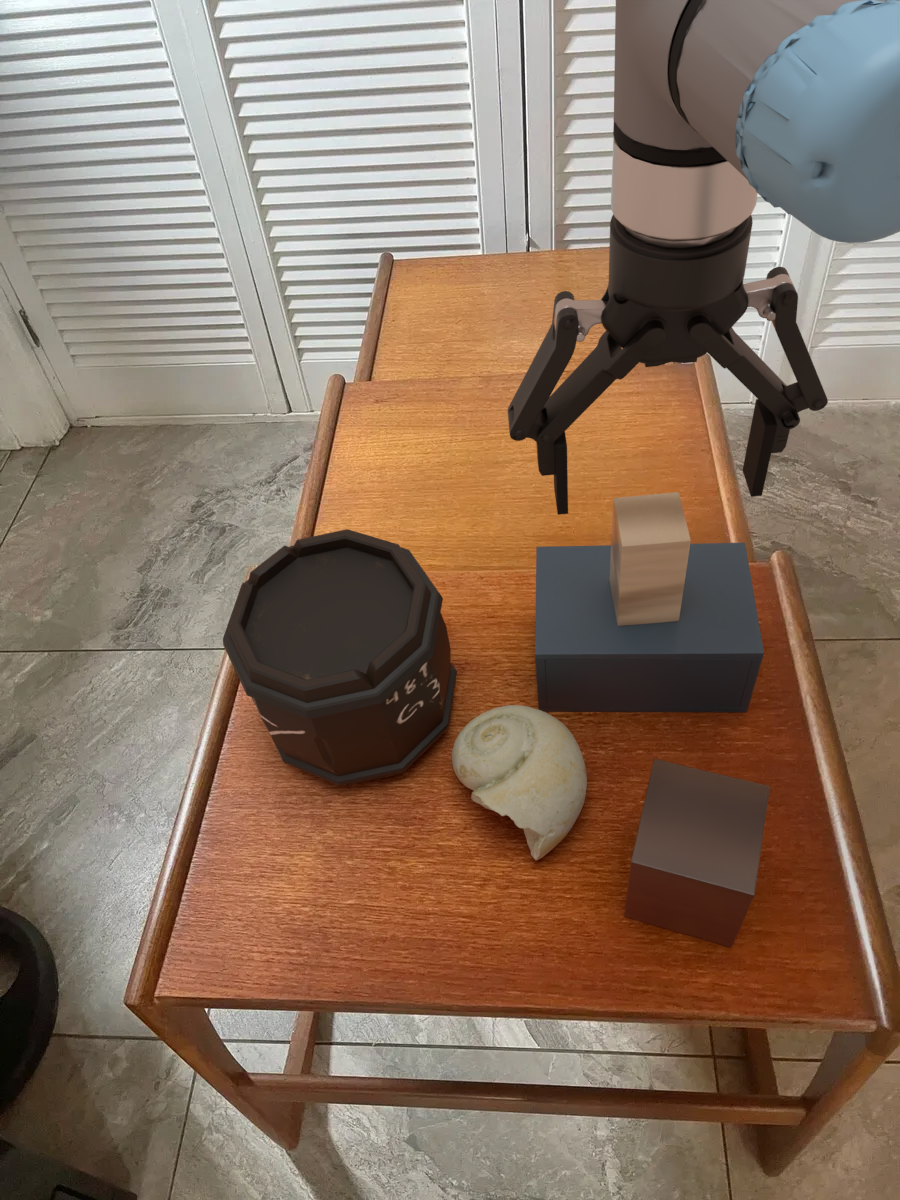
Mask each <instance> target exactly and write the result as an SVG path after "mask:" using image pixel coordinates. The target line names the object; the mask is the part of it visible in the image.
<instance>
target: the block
mask: <svg viewBox="0 0 900 1200" xmlns="http://www.w3.org/2000/svg"><path fill="white" fill-rule="evenodd" d="M684 511H685V510H684V507H683V502H682V498H681V495H680V492H678V491H674V492H664V493H653V494H642V495H631V496H620V497H613V498H612V518H611V536H610V537H611V539H610V540H611V541H610V545H611V560H610V585H611V591H612V597H613V603H614V609H615V615H616V621H617V626H625V625H637V624H650V623H662V622H674V621H679V616H680V610H681V603H682V596H683V590H684V583H685V576H686V569H687V563H688V556H689V549H690V544H692V542H691V541H692V540H691V539H692V538H691V535H690V532H689V527H688V522H687V519H686V515H685V512H684Z"/></svg>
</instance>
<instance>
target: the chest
mask: <svg viewBox="0 0 900 1200" xmlns="http://www.w3.org/2000/svg"><path fill="white" fill-rule="evenodd" d="M534 661H535V679H536V691H537V705H538V707H537V709H538V710H541V711H544V712H546V713H547V712H548V713H549V712H554V713H555V712H556V713H557V712H559V713H561V712H563V713H564V712H565V713H567V712H569V713H570V712H571V713H572V712H575V713H576V712H578V713H579V712H581V713H583V712H585V713H586V712H588V713H591V712H592V713H595V712H596V713H747V712H748V710H749V707H750V703H751V700H752V696H753V692H754V689H755V687H756V683H757V679H758V675H759V672H760V668H761V666H762V662H763V658H762V659H558V660H536V659H535V658H534Z"/></svg>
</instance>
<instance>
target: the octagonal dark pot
mask: <svg viewBox="0 0 900 1200" xmlns="http://www.w3.org/2000/svg"><path fill="white" fill-rule="evenodd" d="M238 590H239V591H238V594H237V595H236V600H235V602H234V605H233V608H232V611H231V614H230V616H229V620H228V623H227V626H226V628H225V631H224V633H223V637H222V645H223V647H224V650H225V652H226V654H227V656H228V658H229V660H230V662H231V665H232V667H233V669H234V672H235V673H236V676H237V677H238V680H239V682H240V684H241V686H242V688H243V690H244V692H245V695H246V696H248V697H250V698H251V699H252V701H253V704H254V705H255V708H256V710H257V712H258V714H259V717H260V719H261V720H262V722H263V724H264V726H265V727H266V729H267V731H268V733H269V735H270V737H271V740H272V741H273V743H274V746H275V747H276V749H277V752H278V754H279V756H280V758H281V760H282V762H283V763H285V764H286V765H288V766H291V767H293V768H296V769H298V770H301V771H303V772H306V773H308V774H310V775H313V776H315V777H318V778H319V779H322V780H325V781H328V782H330V783H332V784H335V785H337V786H340V787H343V786H350V785H356V784H359V783H365V782H368V781H369V782H370V781H373V780H374V781H375V780H378V779H383V778H388V777H392V776H397V775H401V774H403V773H405V772H406V771H407V770H408V769H409V768H410V767H411V766H412V765H413V764H414V763H415V762H417V761H418V759H420V757H421V756H422V755H423V754H424V753H426V751H427V750H428V749H429V748H430V747H431V746H433V744H435V742H437V740H439V738H440V737H441V736H443V734H444V733H446V732H447V731H448V729H449V726H450V719H451V714H452V706H453V701H454V694H455V688H456V680H457V673H458V670H457V669H456V667H455V666H454V665H453V663H452V656H451V655H452V654H451V653H452V652H451V650H452V649H451V645H450V639H449V634H448V633H449V632H448V629H447V624H446V622H445V620H444V617H443V614H442V612H441V611H442V606H443V601H444V597H443V596H442V595H441V593H440V591H439V590H438V588H437V587H436V586H435V584H434V583H433V581H432V580H431V579H430V578H429V576H428V574H427V573H426V572H425V570H424V569H423V568H422V566H421V565H420V563H419V562H418V560H417V559H416V558H415V556H414V555H413V553H412V552H411V550H410V549H407V548H404V547H401V546H400V544H399V543H395V542H391V541H389V540H385V539H382V538H378V537H375V536H372V535H369V534H365V533H362V532H359V531H355V530H352V529H348V528H346V529H341V530H336V531H331V532H328V533H323V534H319V535H313V536H308V537H305V538H303V537H302V538H299V539H296V541H295V543H294V544H293V545H290V546H288V545H285V544H284V545H283V546H282V547H280V548H279V549H278V550H277V551H275V552H274V553H273V554H271V555H270V556H269V557H268V558H266V559H265V560H264V561H262V562H261V563H260V564H258V566H256V567H255V568H254V569H253V570H251V571H250V572H249V575H248V579H247V580H246V581H244V582H242V583H241V585H240V588H239V589H238Z"/></svg>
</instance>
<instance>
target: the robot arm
mask: <svg viewBox="0 0 900 1200" xmlns="http://www.w3.org/2000/svg"><path fill="white" fill-rule="evenodd" d="M614 11H615V12H614V13H615V15H614V16H615V17H614V21H615V23H614V75H613V76H614V78H613V79H614V81H613V82H614V83H613V85H614V86H613V118H612V119H613V129H612V130H613V132H612V135H613V136H612V137H613V139H612V161H611V163H612V165H611V192H610V207H611V208H610V210H611V212H612V216H611V219H610V222H609V246H608V247H609V250H608V251H609V252H608V284H607V288H606V289H605V292H604V294H603V296H602V297H601V299H585V300H584V299H582V300H579V299H578V300H577V299H575V296H574V294H573V292H571V291H569V290H568V291H567V290H562V291H560V292H559V293H557V294H556V295H555V297H554V299H553V300H554V301H553V308H552V309H553V311H552V319H551V325H550V327H549V328H548V331H547V333H546V334H545V336H544V338H543V341H542V342H541V344H540V346H539V348H538V349H537V352H536V353H535V356H534V357H533V360H532V361H531V363H530V365H529V367H528V369H527V371H526V372H525V375H524V377H523V379H522V380H521V382H520V384H519V386H518V388H517V390H516V392H515V394H514V395H513V397H512V400H511V401H510V403H509V405H508V407H507V420H508V430H509V431H508V432H509V437H510V439H512V441H516V442H521V441H524V440H525V439H526V438H527V439H531V440H533V441H535V444H536V459H537V467H538V472H539V474H540V475H541V476H542V477H546V476H553V489H554V490H553V491H554V497H555V506H556V514H557V516H560V515H561V516H562V515H568V514H569V484H568V483H569V481H568V476H569V475H568V443H567V437H566V431H567V430H568V429H570V427H571V426H572V425H573V424H574V423H575V422H576V421H577V419H579V418H580V417H581V416H582V414H583V413H585V411H587V410H588V408H590V406H592V405H593V403H594V402H595V401H596V400H597V399H599V397H601V395H603V393H605V392H606V390H607V389H608V388H610V386H611V385H612V384H613V383H614V382H615V381H616V380H623V379H625V377H627V375H628V374H629V373H630V372H631V371H632V370H633V369H634V368H635V367H636V366H637V365H638V364H644V367H645V368H652V367H660V366H663V365H665V364H668V363H678V364H679V363H680V364H691V363H697V362H698V358H701V357H703V356H705V355H706V354H708V355H709V356H710V357H711V358H712V359H714V361H715V362H716V363H717V364H718V365H719V366H720V367H721V368H723V369H727V370H728V371H729V372H730V373H731V374H732V375H733V376H734V377H735V378H736V379H737V380H738V381H739V382H740V383H741V384H742V386H744V387H745V388H746V389H747V390H748V391H749V392H750V393H751V394H752V395H753V396H754V397H755V398H756V399H755V403H754V408H753V412H752V413H753V414H752V419H751V424H750V429H749V434H748V440H747V445H746V449H745V456H744V459H743V466H742V473H743V476H744V479H745V482H746V486H747V488H748V493H749V495H750V497H751V498H752V497H762V496H763V492H764V488H765V483H766V479H767V475H768V471H769V465H770V461H771V456H772V454H779V453H783V452H784V450H785V448H786V447H787V444H788V440H789V434H790V432H791V430H793V429H794V428H796V427H797V426H799V425H800V423H801V417H800V415H799V413H800V412H802V411H804V410H805V411H806V410H807V409H809V410H810V411H812V412H817V411H821V410H823V409H825V407H826V406H827V405H828V402H829V399H828V397H827V393H826V392H825V389H824V387H823V384H822V382H821V379H820V377H819V375H818V372H817V369H816V367H815V365H814V363H813V360H812V358H811V355H810V352H809V350H808V347H807V345H806V342H805V340H804V338H803V335H802V333H801V330H800V328H799V325H798V322H797V316H798V304H799V294H798V292H797V289H796V287H795V285H794V283H793V281H792V279H791V276H790V274H789V272H788V270H787V269H786V267H784V266H776V267H773V268H771V269H770V270H769V271H768V273H767V274H766V277H765V279H760V280H755V281H751V282H746V283H744V278H745V273H746V267H747V261H748V255H749V248H750V243H751V235H752V230H753V223H754V222H753V216H752V214H753V213H754V210H755V208H756V206H757V201H758V195H759V196H761V198H762V200H764V202H767V203H769V204H770V205H771V206H772V207H773V208H780V209H782V211H784V212H785V213H786V214H787V215H790V216H792V218H794V219H796V220H797V221H799V222H800V223H802V224H803V225H804V226H806V228H808V229H810V230H811V231H812V232H814V233H815V234H817V235H818V236H820V237H822V238H824V239H827V240H829V241H834V242H838V243H845V244H861V243H862V244H863V243H864V244H865V243H870V242H874V241H879V240H882V239H885V238H888V237H891V236H894V235H895V234H897V233H900V0H615V10H614ZM748 308H754V309H755V310H756V311H757V314H758V316H759V318H762V319H766V320H767V321H768V322H771V323H772V326H773V328H774V331H775V333H776V335H777V338H778V341H779V342H780V344H781V347H782V350H783V351H784V354H785V356H786V359H787V361H788V363H789V366H790V368H791V371H792V373H793V375H794V378H795V381H796V382H793V383H791V384H786V383H785V382H784V381H783V380H782V379H781V378H780V377H779V376H778V375H777V373H775V371H773V369H771V367H769V365H767V363H766V362H765V361H764V360H763V359H762V358H761V357H760V356H759V354H757V353H756V352H755V351H754V350H753V349H752V348H751V347H750V345H748V344H747V342H745V340H743V338H741V337H740V336H739V334H738V333H737V332H736V331H735V330H734V328H733V326H735V324H737V322H738V321H739V320H740V319H741V318H742V317H743V316H744V314H745V313H746V311H747V310H748ZM598 324H599V325H602V328H603V329H604V330H605V331H604V332H603V333H602V335H600V337H599V339H598V342H597V345H596V347H595V348H594V349H593V350H592V351H591V352H590V353H589V354H588V355H587V356H586V357H585V358H584V359H583V360H582V361H581V363H579V365H578V366H576V368H575V369H574V370H573V371H572V372H571V373H570V374H569V376H568V377H567V378H566V379H565V380H564V381H563V382H562V383H561V384H560V385H559V386H558V387H557V385H558V383H559V381H560V379H561V377H562V375H563V374H564V372H565V371H566V368H567V367H568V365H569V363H570V361H571V359H572V357H573V355H574V354H575V353H574V352H575V349H576V346H577V342H578V343H581V342H584V341H585V339H586V336H588V334H589V333H590V330H591V329H592V328H593V327H594V326H596V325H598ZM556 387H557V388H556ZM555 388H556V390H555Z"/></svg>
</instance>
